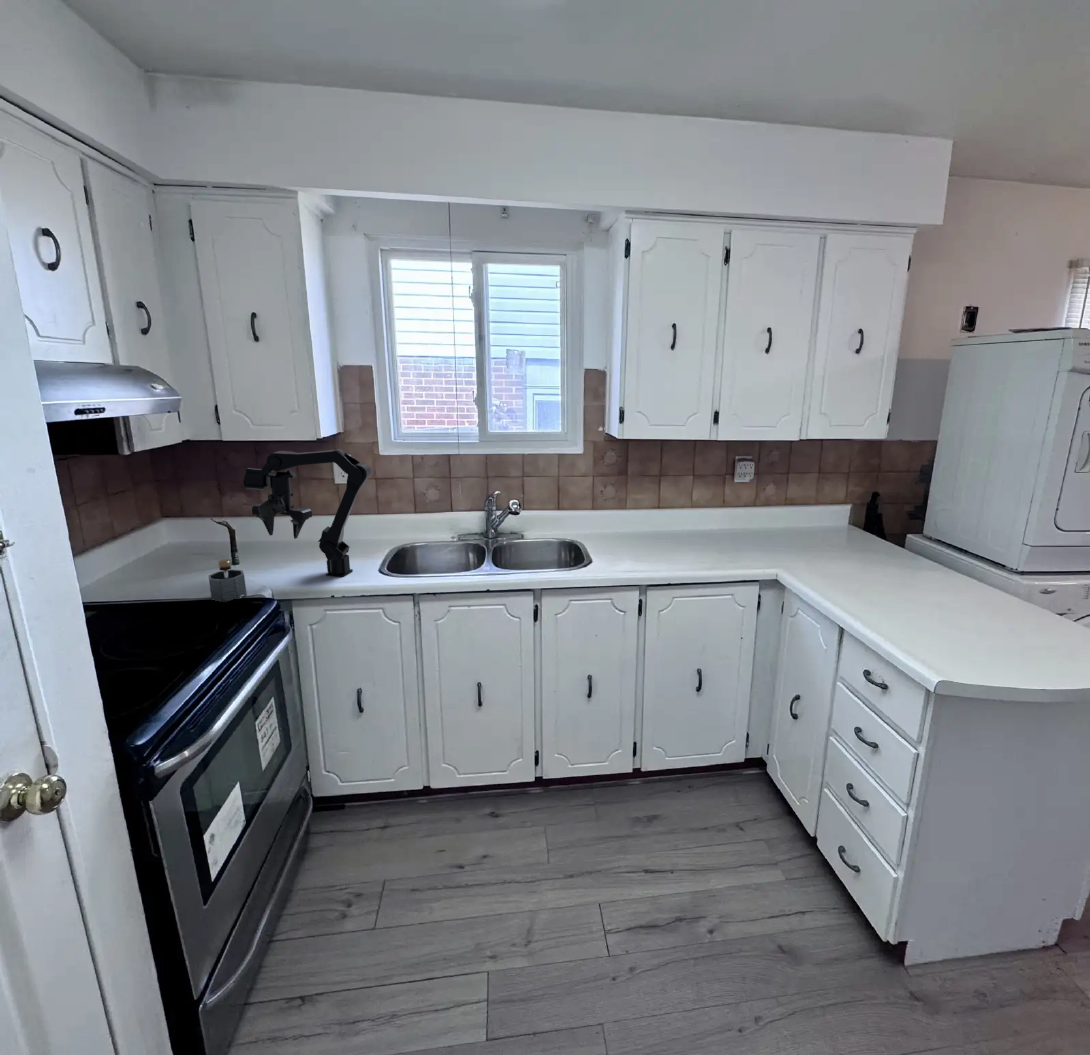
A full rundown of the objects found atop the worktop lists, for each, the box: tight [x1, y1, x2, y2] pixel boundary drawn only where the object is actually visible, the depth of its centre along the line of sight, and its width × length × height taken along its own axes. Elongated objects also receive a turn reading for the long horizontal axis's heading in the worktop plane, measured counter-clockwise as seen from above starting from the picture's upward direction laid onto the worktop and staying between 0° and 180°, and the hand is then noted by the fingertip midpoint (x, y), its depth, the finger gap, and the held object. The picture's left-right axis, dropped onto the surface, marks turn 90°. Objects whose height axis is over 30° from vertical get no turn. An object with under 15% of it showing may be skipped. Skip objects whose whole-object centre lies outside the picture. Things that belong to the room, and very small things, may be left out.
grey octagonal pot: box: [208, 569, 247, 604], centre depth 166 cm, size 9×9×7 cm
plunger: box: [217, 559, 232, 579], centre depth 165 cm, size 7×7×10 cm
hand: (283, 536), depth 184 cm, fingers open, 9 cm apart
